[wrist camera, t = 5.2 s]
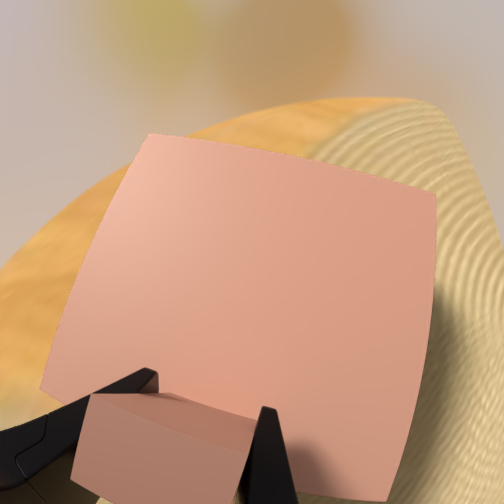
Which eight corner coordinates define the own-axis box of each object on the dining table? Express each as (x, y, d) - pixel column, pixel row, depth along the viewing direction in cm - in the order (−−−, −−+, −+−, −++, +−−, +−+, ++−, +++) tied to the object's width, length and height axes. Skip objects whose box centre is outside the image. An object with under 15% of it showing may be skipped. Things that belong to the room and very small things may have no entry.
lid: (378, 495, 8) (458, 561, 3) (50, 389, 10) (-61, 373, 5) (429, 203, 13) (491, 111, 7) (153, 143, 15) (115, 46, 9)
